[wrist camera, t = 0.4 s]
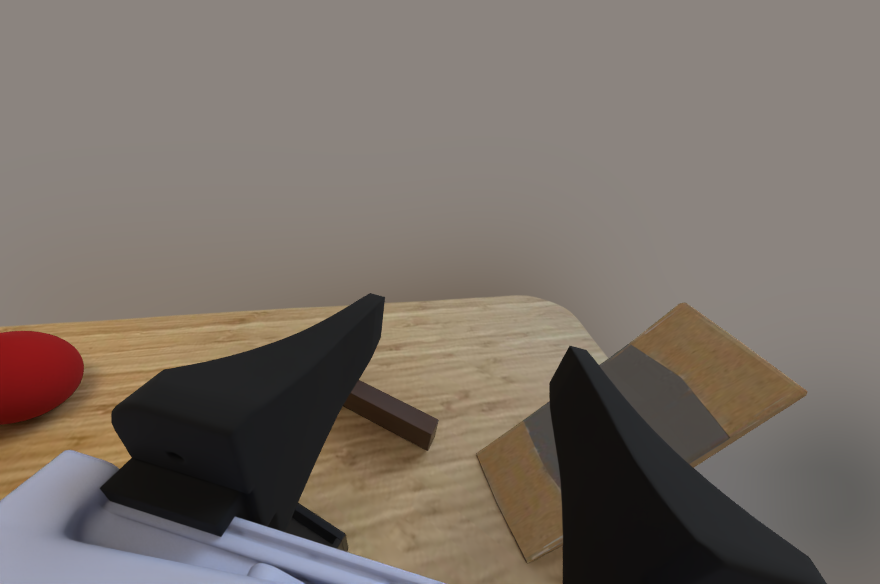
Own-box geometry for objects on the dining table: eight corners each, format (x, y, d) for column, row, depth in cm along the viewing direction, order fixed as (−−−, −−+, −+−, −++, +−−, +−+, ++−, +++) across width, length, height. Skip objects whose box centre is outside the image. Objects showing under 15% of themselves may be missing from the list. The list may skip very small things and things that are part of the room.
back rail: (427, 451, 28) (431, 434, 26) (286, 375, 32) (280, 356, 30) (434, 436, 29) (438, 419, 27) (297, 365, 33) (292, 346, 31)
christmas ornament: (111, 358, 31) (43, 277, 25) (88, 423, 26) (-3, 342, 20) (5, 380, 28) (-102, 294, 22) (-42, 457, 23) (-197, 375, 17)
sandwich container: (472, 451, 28) (520, 337, 19) (598, 403, 34) (683, 298, 25) (526, 568, 22) (635, 488, 13) (667, 487, 28) (814, 390, 19)
